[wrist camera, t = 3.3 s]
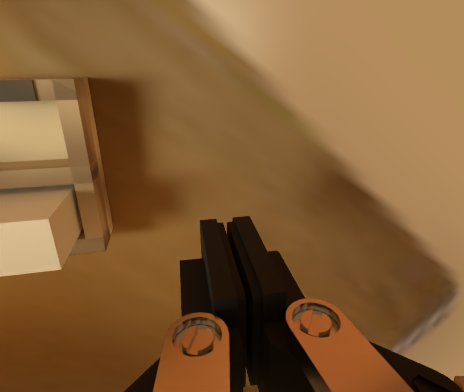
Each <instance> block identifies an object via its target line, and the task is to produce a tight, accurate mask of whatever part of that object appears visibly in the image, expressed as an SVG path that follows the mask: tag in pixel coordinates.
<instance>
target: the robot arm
mask: <svg viewBox="0 0 464 392" xmlns="http://www.w3.org/2000/svg"><path fill="white" fill-rule="evenodd" d="M200 234H201V253H202V259H192V260H182V261H180V279H181V310H182V317H181V318H179V319H178V320H176V321H175V322H174V323H173V324H172V325H171V326H170V327H169V328H168V331H167V333H166V335H165V339H164V344H163V348H162V353H161V357H160V358H159V359H158V360H157V361H156V362H155V363H154V364H153V365H152V366H151V367H150V368H149V369H148V370H147V371H145V372H144V373H143V374H142V375H141V376H140V377H139V378H138V379H137V380H136V381H135V382H134V383H133V384H132V385H131V386H130V387H128V388H127V389H126V390H125V391H124V392H243V387H245V384H246V369H247V373H248V377H249V381H250V384H251V386H252V385H257V386H258V389H259V392H464V376H455V378H454V381H452V380H451V379H449V378H448V377H446V376H445V375H443V374H441V373H439V372H437V371H435V370H433V369H431V368H429V367H426V366H424V365H422V364H420V363H417V362H415V361H413V360H410V359H408V358H406V357H404V356H401V355H399V354H397V353H395V352H392V351H390V350H388V349H385V348H383V347H381V346H379V345H376V344H374V343H372V342H370V341H368V340H367V339H366V338H365V337H364V336H363V335H362V334H361V333H360V332H359V330H358V329H357V328H356V327H355V326H354V325H353V324H352V323H351V322H350V320H349V319H348V318H347V317H346V316H345V315H344V314H343V313H342V312H341V311H340V310H339V309H338V308H337V307H335V306H334V305H332V304H330V303H328V302H326V301H323V300H319V299H312V298H307V299H305V297H304V296H303V294H302V292H301V290H300V289H299V287H298V285H297V283H296V281H295V280H294V278H293V276H292V274H291V273H290V271H289V269H288V267H287V266H286V264H285V262H284V260H283V259H282V257H281V255H280V253H279V252H278V251H269V252H267V250H266V248H265V246H264V244H263V242H262V240H261V238H260V236H259V234H258V232H257V230H256V228H255V226H254V224H253V222H252V220H251V218H250V217H249V216H245V217H233V221H232V222H227V234H226V231H225V228H224V225H223V223H217V220H216V219H209V220H200Z"/></svg>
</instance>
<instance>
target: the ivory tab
mask: <svg viewBox="0 0 464 392" xmlns="http://www.w3.org/2000/svg"><path fill="white" fill-rule="evenodd" d="M82 229H83V225H82V220H81V215H80V210H79V206H78V201H77V196H76V192H75V187H74V184H68V185H54V186H39V187H25V188H11V189H0V277H1V276H10V275H19V274H28V273H36V272H45V271H54V270H61V269H62V267H63V265H64V263H65V262H66V260H67V258H68V256H69V254H70V252H71V250H72V248H73V246H74V244H75V242H76V240H77V238H78V236H79V234H80V233H81V231H82Z"/></svg>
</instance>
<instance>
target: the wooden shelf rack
mask: <svg viewBox="0 0 464 392" xmlns="http://www.w3.org/2000/svg"><path fill="white" fill-rule="evenodd" d="M68 184H74V187H75V192H76V196H77V201H78V206H79V210H80V215H81V220H82V225H83V229H82V231H81V233H80V234H79V236H78V238H77V240H76V242H75V244H74V246H73V248H72V250H71V252H70V254H69V255H75V254H85V253H94V252H104V251H106V249H107V246H108V243H109V240H110V237H111V233H112V230H113V224H112V218H111V212H110V206H109V200H108V194H107V189H106V183H105V177H104V171H103V165H102V159H101V154H100V148H99V142H98V136H97V130H96V124H95V119H94V113H93V107H92V101H91V95H90V89H89V84H88V78H87V77H82V78H17V79H0V189H11V188H25V187H39V186H54V185H68Z"/></svg>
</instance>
